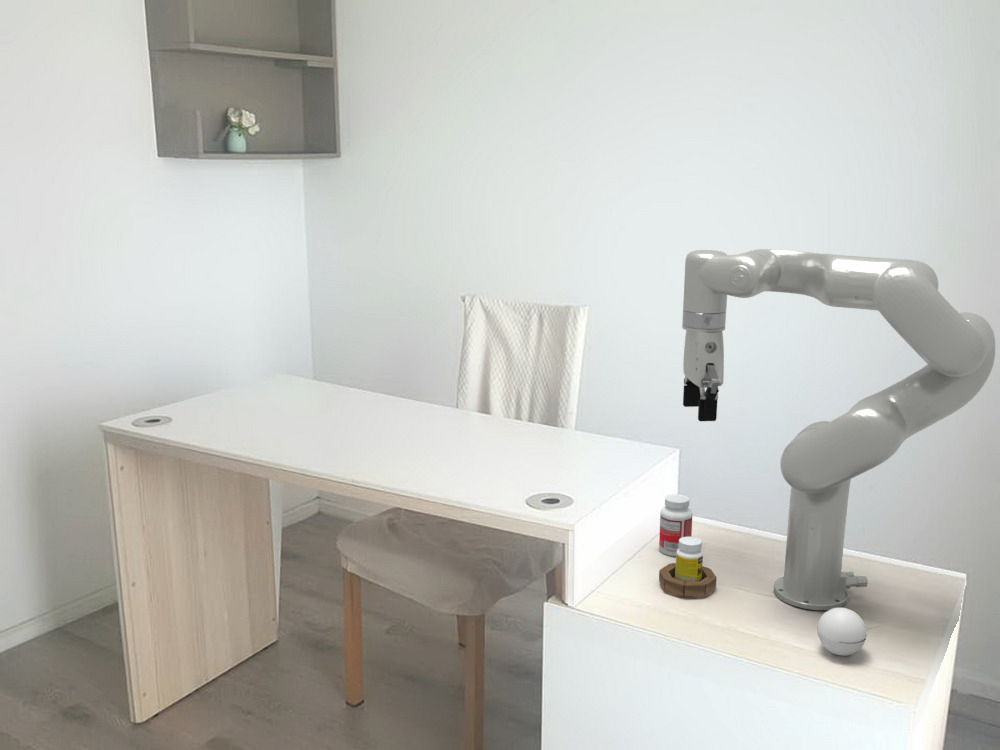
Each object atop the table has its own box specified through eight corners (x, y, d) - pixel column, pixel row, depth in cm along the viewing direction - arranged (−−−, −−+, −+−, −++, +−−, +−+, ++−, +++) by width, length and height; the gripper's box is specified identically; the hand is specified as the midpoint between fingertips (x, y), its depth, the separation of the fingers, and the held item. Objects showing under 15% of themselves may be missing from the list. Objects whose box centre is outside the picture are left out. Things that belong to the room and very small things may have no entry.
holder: (705, 574, 182) (705, 561, 182) (720, 598, 173) (721, 584, 173) (654, 576, 182) (655, 563, 181) (667, 600, 172) (668, 586, 172)
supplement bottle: (701, 591, 174) (703, 547, 173) (674, 588, 175) (676, 544, 173) (701, 579, 179) (703, 536, 177) (675, 577, 180) (677, 534, 178)
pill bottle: (683, 543, 197) (685, 491, 194) (695, 556, 191) (698, 502, 188) (654, 546, 195) (656, 493, 193) (665, 558, 189) (668, 504, 187)
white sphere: (824, 665, 151) (828, 621, 149) (809, 641, 158) (812, 599, 157) (889, 664, 151) (893, 621, 150) (871, 641, 158) (875, 599, 157)
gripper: (740, 329, 166) (734, 426, 170) (710, 312, 183) (705, 400, 187) (697, 329, 166) (692, 427, 170) (670, 312, 182) (666, 401, 186)
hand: (699, 413), depth 178 cm, fingers open, 9 cm apart
